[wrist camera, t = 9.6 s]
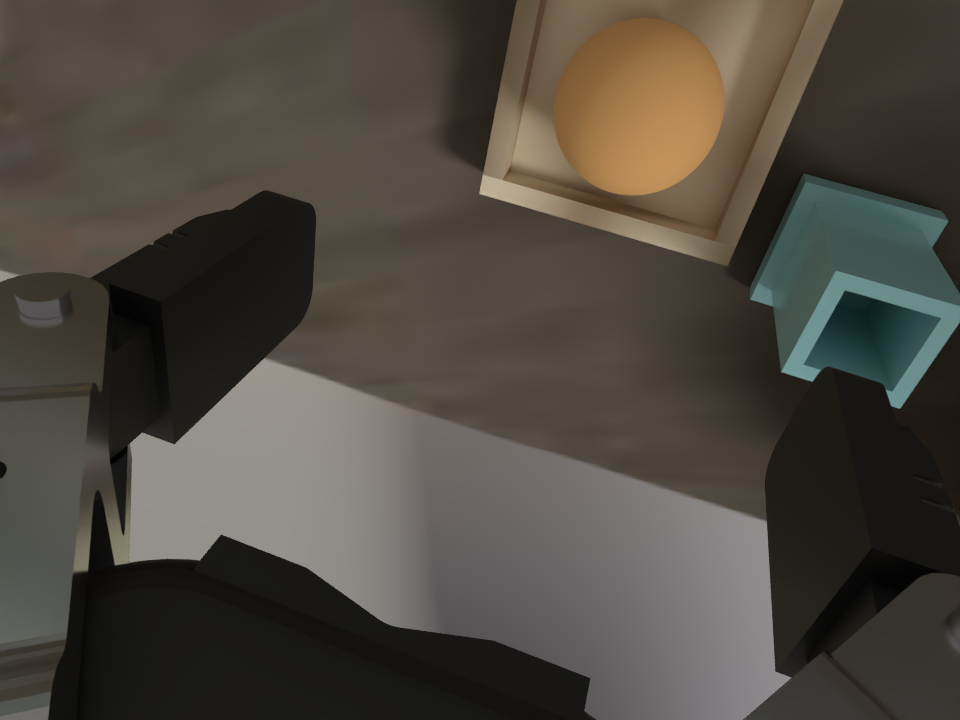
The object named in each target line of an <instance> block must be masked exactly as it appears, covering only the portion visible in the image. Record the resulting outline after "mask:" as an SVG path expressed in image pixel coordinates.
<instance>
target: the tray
mask: <svg viewBox="0 0 960 720" xmlns="http://www.w3.org/2000/svg"><path fill="white" fill-rule="evenodd" d="M843 1H844V0H517V1H516V6H515V11H514V16H513V22H512V27H511V32H510V37H509V42H508V48H507V53H506V58H505V63H504V68H503V74H502V79H501V84H500V89H499V94H498V100H497V105H496V110H495V115H494V120H493V126H492V131H491V136H490V141H489V146H488V152H487V157H486V162H485V167H484V172H483V178H482V183H481V188H480V193H479V194H482V195H485V196H489V197H492V198H496V199H499V200H503V201H506V202H509V203H513V204H516V205H520V206H523V207H527V208H530V209H533V210H537V211H540V212H544V213H547V214H550V215H554V216H557V217H561V218H564V219H568V220H571V221H574V222H578V223H581V224H585V225H588V226H591V227H595V228H598V229H602V230H605V231H609V232H612V233H615V234H619V235H622V236H626V237H629V238H633V239H636V240H639V241H643V242H646V243H650V244H653V245H656V246H660V247H663V248H667V249H670V250H674V251H677V252H680V253H684V254H687V255H691V256H694V257H697V258H701V259H704V260H708V261H711V262H715V263H718V264H721V265H725V266H728V264H729V262H730V260H731V257H732V255H733V253H734V250H735V248H736V246H737V244H738V241H739V239H740V237H741V234H742V232H743V230H744V227H745V225H746V223H747V221H748V218H749V216H750V214H751V211H752V209H753V207H754V205H755V202H756V200H757V198H758V195H759V193H760V191H761V189H762V186H763V184H764V182H765V179H766V177H767V175H768V173H769V170H770V168H771V166H772V163H773V161H774V159H775V156H776V154H777V152H778V150H779V147H780V145H781V143H782V140H783V138H784V136H785V134H786V131H787V129H788V127H789V124H790V122H791V120H792V118H793V115H794V113H795V111H796V108H797V106H798V104H799V102H800V99H801V97H802V95H803V92H804V90H805V88H806V85H807V83H808V81H809V79H810V76H811V74H812V72H813V69H814V67H815V65H816V63H817V60H818V58H819V56H820V53H821V51H822V49H823V47H824V44H825V42H826V40H827V37H828V35H829V33H830V31H831V28H832V26H833V24H834V21H835V19H836V17H837V15H838V12H839V10H840V8H841V5H842V3H843ZM636 18H655V19H661V20H666V21H669V22H672V23H675V24H677V25H679V26H681V27H683V28H685V29H687V30H688V31H690V32H691V33H692V34H694V35H695V36H696V37H697V38H698V39H699V40H700V41H702V42H703V43H704V45H705V46H706V47H707V49H708V50H709V51H710V52H711V54H712V56H713V58H714V59H715V61H716V63H717V66H718V68H719V71H720V74H721V77H722V82H723V86H724V96H725V103H724V114H723V120H722V124H721V127H720V130H719V133H718V136H717V138H716V140H715V143H714V145H713V147H712V148H711V150H710V151H709V153H708V155H707V156H706V157H705V159H704V160H703V161H702V162H701V164H700V165H699V166H698V167H697V168H696V169H695V170H694V171H693V172H692V173H690V174H689V175H688V176H687V177H685V178H684V179H683V180H681V181H680V182H678V183H676V184H675V185H673V186H671V187H669V188H666V189H664V190H661V191H658V192H655V193H651V194H645V195H620V194H616V193H611V192H608V191H605V190H602V189H600V188H598V187H596V186H594V185H592V184H591V183H589V182H588V181H586V180H585V179H584V178H583V177H581V176H580V175H579V174H578V173H577V172H576V171H575V170H574V169H573V167H572V166H571V165H570V164H569V162H568V161H567V159H566V158H565V156H564V154H563V152H562V150H561V148H560V146H559V143H558V140H557V137H556V133H555V128H554V119H553V110H554V99H555V93H556V89H557V85H558V82H559V79H560V77H561V75H562V73H563V70H564V69H565V67H566V65H567V64H568V62H569V60H570V59H571V57H572V56H573V55H574V53H575V52H576V51H577V50H578V48H579V47H580V46H581V45H582V44H583V43H584V42H585V41H587V40H588V39H589V38H590V37H592V36H593V35H594V34H596V33H597V32H599V31H601V30H602V29H604V28H606V27H608V26H611V25H613V24H616V23H618V22H621V21H625V20H629V19H636Z"/></svg>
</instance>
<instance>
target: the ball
mask: <svg viewBox="0 0 960 720" xmlns="http://www.w3.org/2000/svg"><path fill="white" fill-rule="evenodd" d="M724 103H725V96H724V86H723V82H722V77H721V74H720V71H719V68H718V66H717V63H716V61H715V59H714V58H713V56H712V54H711V52H710V51H709V50H708V49H707V47H706V46H705V45H704V43H703V42H702V41H700V40H699V39H698V38H697V37H696V36H695V35H694V34H692V33H691V32H690V31H688V30H687V29H685V28H683V27H681V26H679V25H677V24H675V23H672V22H669V21H666V20H661V19H655V18H636V19H629V20H625V21H621V22H618V23H616V24H613V25H611V26H608V27H606V28H604V29H602V30H601V31H599V32H597V33H596V34H594V35H593V36H592V37H590V38H589V39H588V40H587V41H585V42H584V43H583V44H582V45H581V46H580V47H579V48H578V50H577V51H576V52H575V53H574V55H573V56H572V57H571V59H570V60H569V62H568V64H567V65H566V67H565V69H564V70H563V73H562V75H561V77H560V79H559V82H558V85H557V89H556V93H555V99H554V110H553V119H554V128H555V133H556V137H557V140H558V143H559V146H560V148H561V150H562V152H563V154H564V156H565V158H566V159H567V161H568V162H569V164H570V165H571V166H572V167H573V169H574V170H575V171H576V172H577V173H578V174H579V175H580V176H581V177H583V178H584V179H585V180H586V181H588V182H589V183H591V184H592V185H594V186H596V187H598V188H600V189H602V190H605V191H608V192H611V193H616V194H620V195H645V194H651V193H655V192H658V191H661V190H664V189H666V188H669V187H671V186H673V185H675V184H676V183H678V182H680V181H681V180H683V179H684V178H685V177H687V176H688V175H689V174H690V173H692V172H693V171H694V170H695V169H696V168H697V167H698V166H699V165H700V164H701V162H702V161H703V160H704V159H705V157H706V156H707V155H708V153H709V151H710V150H711V148H712V147H713V145H714V143H715V140H716V138H717V136H718V133H719V130H720V127H721V124H722V120H723V114H724Z"/></svg>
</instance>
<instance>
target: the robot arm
mask: <svg viewBox="0 0 960 720" xmlns="http://www.w3.org/2000/svg"><path fill="white" fill-rule="evenodd" d="M315 232H316V214H315V210H314V208H313V206H312V205H311V204H310V203H307V202H303V201H300V200H297V199H294V198H290V197H287V196H284V195H281V194H278V193H274V192H271V191H267V190H265V191H262V192H260V193H258V194H257V195H255V196H253V197H252V198H250V199H248V200H247V201H245V202H243V203H242V204H240V205H238V206H237V207H235V208H233V209H232V210H224V211H219V212H215V213H211V214H207V215H203V216H199V217H196V218H194V219H192V220H191V221H189V222H187V223H185V224H184V225H182V226H180V227H178V228H177V229H175V230H173V233H172V234H170V233H168V234H166V235H164V236H163V237H161V238H159V239H157V240H156V241H154V244H153V245H150V244H149V245H147V246H145V247H144V248H142V249H140V250H138V251H137V252H135V253H133V254H131V255H130V256H128V257H126V258H124V259H123V260H121V261H119V262H117V263H116V264H114V265H112V266H111V267H109V268H107V269H105V270H104V271H102V272H100V273H98V274H97V275H95V276H93V277H91V278H88V277H85V276H82V275H78V274H73V273H64V272H40V273H32V274H26V275H21V276H17V277H14V278H10V279H7V280H5V281H2V282H0V720H596V719H595V718H593V717H592V716H590V715H589V714H588V713H586V712H585V711H584V709H585V704H586V698H587V692H588V687H589V682H590V678H588V677H585V676H583V675H580V674H578V673H575V672H572V671H570V670H567V669H565V668H562V667H560V666H557V665H555V664H552V663H549V662H547V661H544V660H542V659H539V658H537V657H534V656H531V655H529V654H526V653H524V652H521V651H519V650H516V649H514V648H511V647H508V646H506V645H503V644H500V643H498V642H496V641H491V640H484V639H477V638H470V637H462V636H455V635H448V634H441V633H434V632H427V631H419V630H413V629H405V628H399V627H394V626H391V625H388V624H386V623H384V622H382V621H380V620H379V619H377V618H376V617H375V616H373V615H372V614H370V613H369V612H368V611H366V610H365V609H363V608H362V607H361V606H359V605H358V604H356V603H355V602H354V601H352V600H351V599H349V598H348V597H347V596H345V595H344V594H342V593H341V592H340V591H338V590H337V589H335V588H334V587H332V586H331V585H330V584H328V583H327V582H325V581H324V580H323V579H321V578H320V577H318V576H317V575H316V574H314V573H313V572H312V571H310V570H309V569H307V568H306V567H303V566H300V565H298V564H295V563H293V562H290V561H287V560H285V559H282V558H280V557H277V556H275V555H272V554H270V553H267V552H264V551H262V550H259V549H257V548H254V547H252V546H249V545H246V544H244V543H241V542H239V541H236V540H234V539H231V538H228V537H226V536H223V535H221V536H220V537H219V538H218V539H217V540H216V542H215V543H214V544H213V545H212V547H211V548H210V549H209V550H208V551H207V553H206V554H205V555H204V556H203V558H202V559H201V560H200V561H198V560H188V559H185V560H184V559H160V560H147V561H138V562H132V563H130V561H129V553H130V550H129V549H130V514H131V512H130V511H131V477H132V455H131V447H130V443H131V442H132V441H133V440H134V439H135V438H136V437H137V436H139V435H140V434H141V433H142V432H143V433H146V434H149V435H151V436H154V437H156V438H159V439H162V440H164V441H167V442H170V443H173V444H175V443H176V442H177V441H178V440H179V439H180V438H181V437H182V436H183V435H184V434H185V433H186V432H188V431H189V429H191V428H192V427H193V426H194V425H195V424H196V423H197V422H198V421H199V420H200V419H201V418H202V417H203V416H204V415H205V414H206V413H207V412H208V411H210V409H212V408H213V407H214V406H215V405H216V404H217V403H218V402H219V401H220V400H221V399H222V398H223V397H224V396H225V395H226V394H227V393H228V392H229V391H230V390H231V389H232V388H233V387H235V386H236V384H238V383H239V382H240V381H241V380H242V379H243V378H244V377H245V376H246V375H247V374H248V373H249V372H250V371H251V370H252V369H253V368H254V367H255V366H256V365H257V364H258V363H259V362H261V361H262V360H263V359H264V358H265V357H266V356H267V355H268V354H269V353H270V352H271V351H272V350H273V349H274V348H275V347H276V346H277V345H278V344H279V343H280V342H281V341H282V340H284V339H285V338H286V337H287V336H288V335H289V334H290V333H291V332H292V331H293V330H294V329H295V328H296V327H297V326H298V325H299V324H300V322H301V321H302V319H303V318H304V316H305V314H306V312H307V309H308V307H309V304H310V300H311V296H312V288H313V270H314V251H315ZM943 484H944V483H943V480H942V478H941V475H940V472H939V469H938V467H937V464H936V461H935V459H934V456H933V455H932V454H931V453H930V451H929V450H928V449H927V448H926V447H925V446H924V444H923V443H922V442H921V441H920V440H919V438H918V437H917V436H916V435H915V434H914V432H913V431H912V430H911V429H910V428H908V427H905V426H902V425H899V424H897V423H896V420H895V417H894V414H893V411H892V408H891V404H890V401H889V398H888V395H887V392H886V389H885V386H884V385H883V384H882V383H880V382H877V381H874V380H871V379H868V378H864V377H861V376H858V375H855V374H852V373H848V372H845V371H842V370H839V369H836V368H832V367H825V368H823V369H822V370H821V371H820V372H819V373H818V375H817V376H816V377H815V379H814V380H813V382H812V384H811V386H810V387H809V389H808V391H807V392H806V394H805V396H804V398H803V399H802V401H801V403H800V404H799V406H798V408H797V410H796V411H795V413H794V415H793V417H792V418H791V420H790V422H789V423H788V425H787V427H786V429H785V430H784V432H783V434H782V435H781V437H780V439H779V441H778V442H777V444H776V446H775V448H774V450H773V453H772V455H771V458H770V461H769V464H768V467H767V472H766V478H765V495H766V512H767V530H768V548H769V565H770V583H771V600H772V618H773V636H774V652H775V671H776V672H779V673H781V674H784V675H787V676H789V677H792V678H791V679H790V680H789V681H787V682H786V683H785V684H784V685H783V686H782V687H781V688H779V689H778V690H777V691H776V692H775V693H774V694H772V695H771V696H770V697H769V698H768V699H767V700H766V701H764V702H763V703H762V704H761V705H760V706H758V707H757V708H756V709H755V710H754V711H753V712H751V713H750V714H749V715H748V716H747V717H746V718H744V719H743V720H960V527H959V524H958V521H957V518H956V516H955V513H953V512H951V508H952V505H951V502H950V499H949V497H948V494H947V491H946V489H943V488H942V487H943Z"/></svg>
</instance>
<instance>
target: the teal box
mask: <svg viewBox="0 0 960 720" xmlns="http://www.w3.org/2000/svg"><path fill="white" fill-rule="evenodd" d="M947 223H948V219H947V218H946V216H945V215H944V214H943V212H942V211H940V210H936V209H933V208H929V207H925V206H921V205H918V204H914V203H910V202H907V201H903V200H899V199H896V198H892V197H888V196H885V195H881V194H877V193H874V192H870V191H866V190H862V189H859V188H855V187H851V186H848V185H844V184H840V183H837V182H833V181H829V180H826V179H822V178H818V177H815V176H811V175H807V174H803V175H802V177H801V179H800V181H799V184H798V186H797V188H796V190H795V192H794V194H793V196H792V199H791V201H790V203H789V205H788V207H787V209H786V211H785V214H784V216H783V218H782V220H781V222H780V224H779V226H778V229H777V231H776V233H775V235H774V237H773V239H772V241H771V244H770V246H769V248H768V250H767V252H766V254H765V256H764V259H763V261H762V263H761V265H760V267H759V269H758V271H757V274H756V276H755V278H754V280H753V282H752V284H751V286H750V300H753V301H757V302H760V303H763V304H767V305H770V306H773V309H774V317H775V325H776V334H777V342H778V350H779V358H780V366H781V372H782V373H786V374H789V375H792V376H795V377H799V378H802V379H805V380H808V381H812V382H813V380H814V379H815V377H816V376H817V375H818V373H819V372H820V371H821V370H822V369H823V368H825V367H832V368H836V369H839V370H842V371H845V372H848V373H852V374H855V375H858V376H861V377H864V378H868V379H871V380H874V381H877V382H880V383H882V384H883V385H884V386H885V389H886V392H887V395H888V398H889V401H890V404H891V406H892V407H896V408H899V409H900V408H901V407H902V405H903V404H904V403H905V401H906V400H907V398H908V397H909V395H910V394H911V392H912V391H913V389H914V388H915V387H916V385H917V384H918V382H919V381H920V379H921V378H922V376H923V375H924V374H925V372H926V371H927V369H928V368H929V366H930V365H931V363H932V362H933V360H934V359H935V358H936V356H937V355H938V353H939V352H940V350H941V349H942V347H943V346H944V345H945V343H946V342H947V340H948V339H949V337H950V336H951V334H952V333H953V331H954V330H955V329H956V327H957V326H958V324H959V323H960V293H959V292H958V290H957V288H956V287H955V285H954V283H953V282H952V280H951V278H950V277H949V275H948V273H947V272H946V270H945V269H944V267H943V265H942V264H941V262H940V260H939V259H938V257H937V255H936V254H935V252H934V250H933V249H932V247H933V246H934V244H935V242H936V241H937V239H938V237H939V236H940V234H941V233H942V231H943V229H944V228H945V226H946V224H947Z"/></svg>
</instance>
